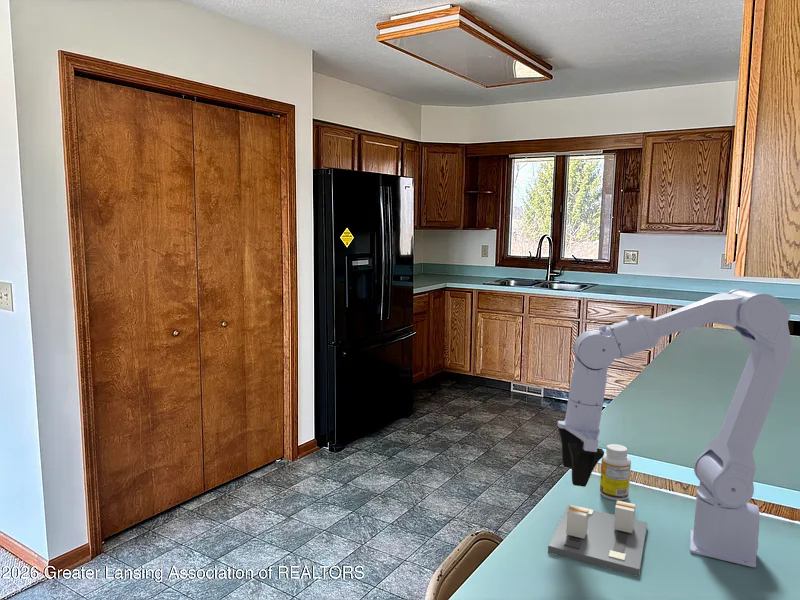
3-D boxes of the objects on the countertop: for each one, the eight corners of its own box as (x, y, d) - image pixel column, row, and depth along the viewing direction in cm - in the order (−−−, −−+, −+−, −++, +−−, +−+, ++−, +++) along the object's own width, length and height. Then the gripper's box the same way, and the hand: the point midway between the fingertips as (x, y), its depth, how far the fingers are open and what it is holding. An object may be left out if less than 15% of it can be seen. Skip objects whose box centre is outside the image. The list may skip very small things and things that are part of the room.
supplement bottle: (604, 487, 122) (608, 440, 121) (632, 495, 118) (635, 446, 117) (595, 496, 118) (598, 447, 116) (623, 504, 114) (626, 454, 113)
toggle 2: (633, 525, 102) (635, 503, 102) (632, 533, 100) (633, 510, 99) (615, 521, 104) (617, 499, 103) (613, 529, 101) (615, 506, 100)
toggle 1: (587, 530, 100) (588, 507, 100) (584, 538, 97) (585, 514, 97) (569, 526, 101) (570, 503, 101) (566, 534, 99) (567, 510, 98)
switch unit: (646, 528, 105) (647, 521, 104) (638, 576, 90) (639, 568, 89) (567, 510, 111) (568, 503, 111) (547, 552, 96) (548, 544, 96)
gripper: (554, 386, 107) (543, 456, 109) (571, 410, 92) (559, 490, 94) (592, 391, 106) (581, 461, 108) (615, 416, 92) (602, 496, 94)
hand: (573, 475), depth 101 cm, fingers open, 7 cm apart
